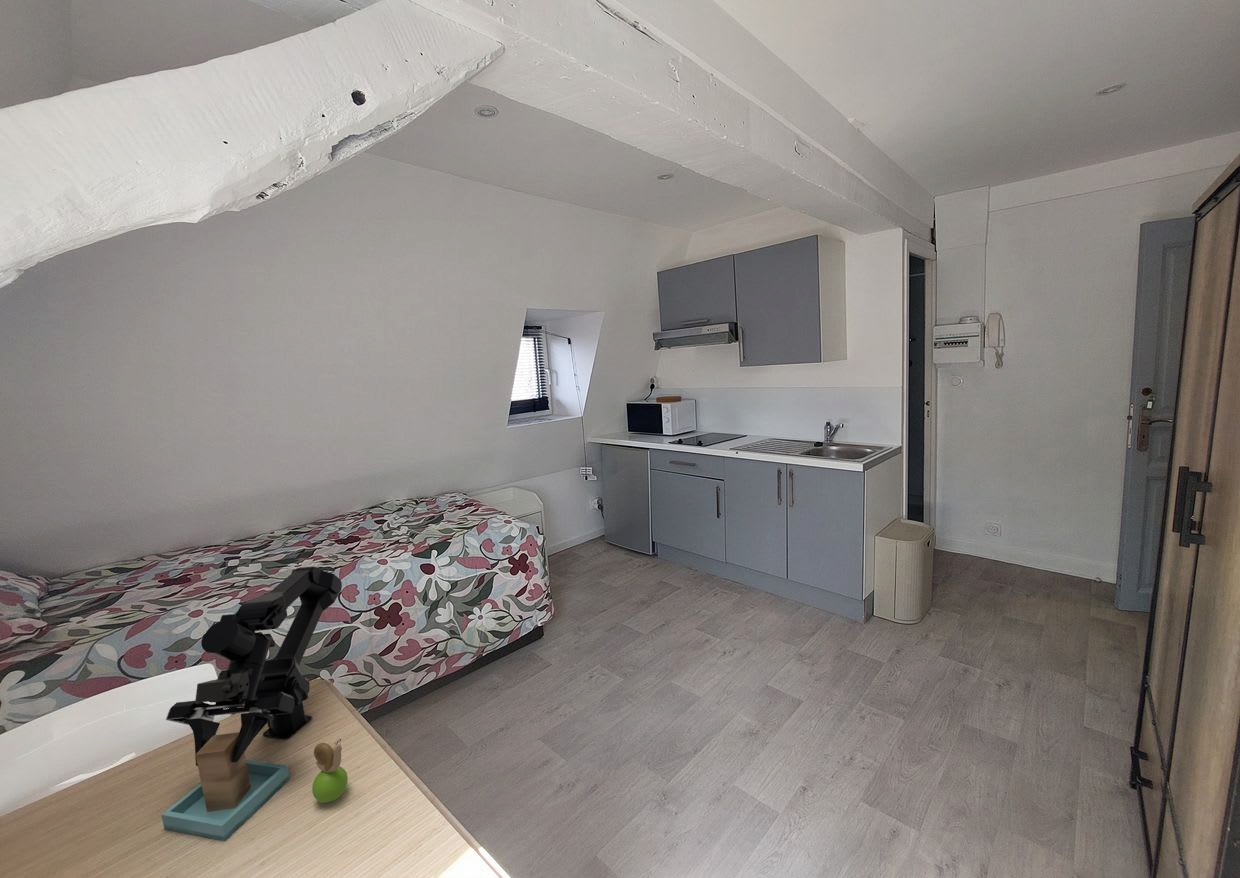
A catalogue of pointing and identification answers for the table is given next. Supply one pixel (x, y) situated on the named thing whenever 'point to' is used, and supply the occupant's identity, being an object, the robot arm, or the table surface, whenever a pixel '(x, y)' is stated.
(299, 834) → the table surface
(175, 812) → the teal tray
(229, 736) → the walnut block
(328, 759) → the snail figurine
